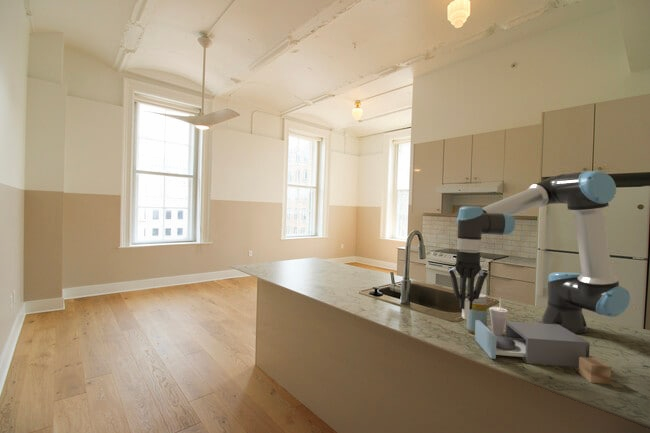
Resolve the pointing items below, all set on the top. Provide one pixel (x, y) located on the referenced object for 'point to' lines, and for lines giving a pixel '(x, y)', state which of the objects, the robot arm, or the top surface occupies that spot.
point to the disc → (505, 343)
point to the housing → (549, 343)
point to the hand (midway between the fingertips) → (465, 318)
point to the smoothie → (498, 319)
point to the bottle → (477, 313)
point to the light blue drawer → (489, 342)
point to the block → (594, 370)
